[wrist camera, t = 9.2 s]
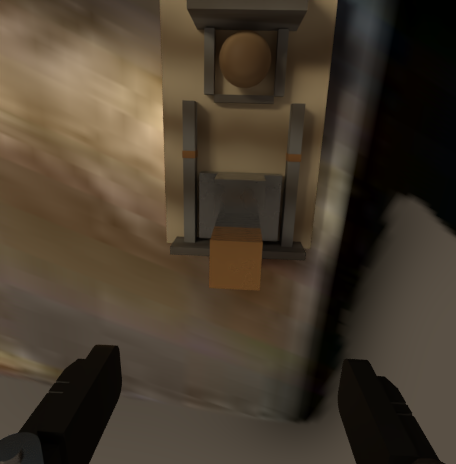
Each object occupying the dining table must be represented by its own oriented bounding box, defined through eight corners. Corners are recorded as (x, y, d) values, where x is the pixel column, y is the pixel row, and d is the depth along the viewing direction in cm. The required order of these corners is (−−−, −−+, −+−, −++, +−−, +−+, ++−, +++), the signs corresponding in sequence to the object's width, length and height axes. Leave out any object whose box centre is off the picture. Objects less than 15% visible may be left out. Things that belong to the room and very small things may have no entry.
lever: (201, 171, 30) (176, 195, 19) (281, 173, 30) (300, 200, 19) (200, 233, 32) (178, 287, 21) (276, 237, 32) (291, 293, 21)
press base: (164, -12, 28) (139, -56, 21) (333, -10, 27) (361, -54, 21) (171, 236, 35) (153, 262, 28) (306, 242, 34) (321, 270, 27)
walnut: (221, 36, 27) (217, 22, 23) (270, 37, 27) (274, 23, 23) (220, 90, 28) (216, 84, 24) (267, 91, 28) (271, 85, 24)
